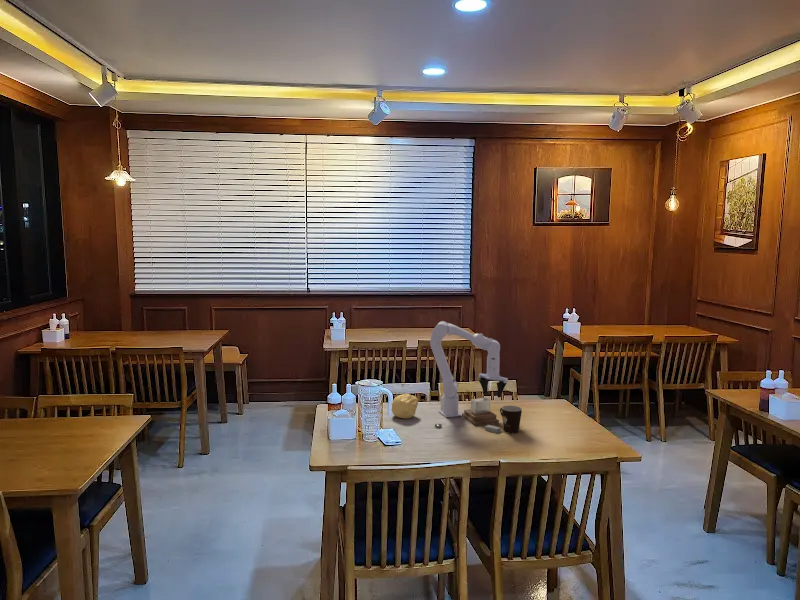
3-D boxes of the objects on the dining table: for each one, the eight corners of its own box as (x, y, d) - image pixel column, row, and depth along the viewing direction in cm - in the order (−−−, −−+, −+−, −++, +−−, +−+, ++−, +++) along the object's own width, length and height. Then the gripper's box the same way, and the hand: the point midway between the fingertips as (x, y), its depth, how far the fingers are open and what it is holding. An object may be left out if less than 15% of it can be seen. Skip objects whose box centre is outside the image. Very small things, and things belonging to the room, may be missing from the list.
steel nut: (433, 426, 247) (433, 424, 247) (440, 426, 248) (440, 423, 248) (436, 428, 244) (436, 426, 244) (442, 428, 245) (442, 425, 245)
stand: (461, 416, 261) (461, 409, 261) (485, 414, 265) (485, 407, 265) (474, 425, 248) (474, 418, 248) (498, 423, 252) (499, 415, 251)
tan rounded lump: (409, 422, 252) (409, 398, 251) (386, 417, 258) (387, 395, 257) (421, 415, 262) (421, 393, 261) (399, 411, 268) (399, 389, 267)
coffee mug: (523, 434, 238) (524, 411, 237) (503, 434, 238) (503, 411, 236) (517, 425, 249) (518, 403, 248) (498, 425, 249) (498, 403, 248)
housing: (470, 412, 256) (470, 399, 255) (484, 410, 260) (484, 397, 259) (475, 414, 252) (476, 401, 252) (489, 412, 256) (490, 399, 256)
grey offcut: (484, 430, 243) (484, 426, 242) (488, 429, 245) (488, 424, 245) (497, 433, 239) (497, 429, 239) (500, 432, 241) (500, 427, 241)
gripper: (475, 365, 260) (474, 394, 261) (502, 370, 250) (501, 400, 252) (483, 363, 265) (482, 391, 266) (510, 368, 256) (509, 397, 257)
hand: (492, 395), depth 259 cm, fingers open, 7 cm apart
